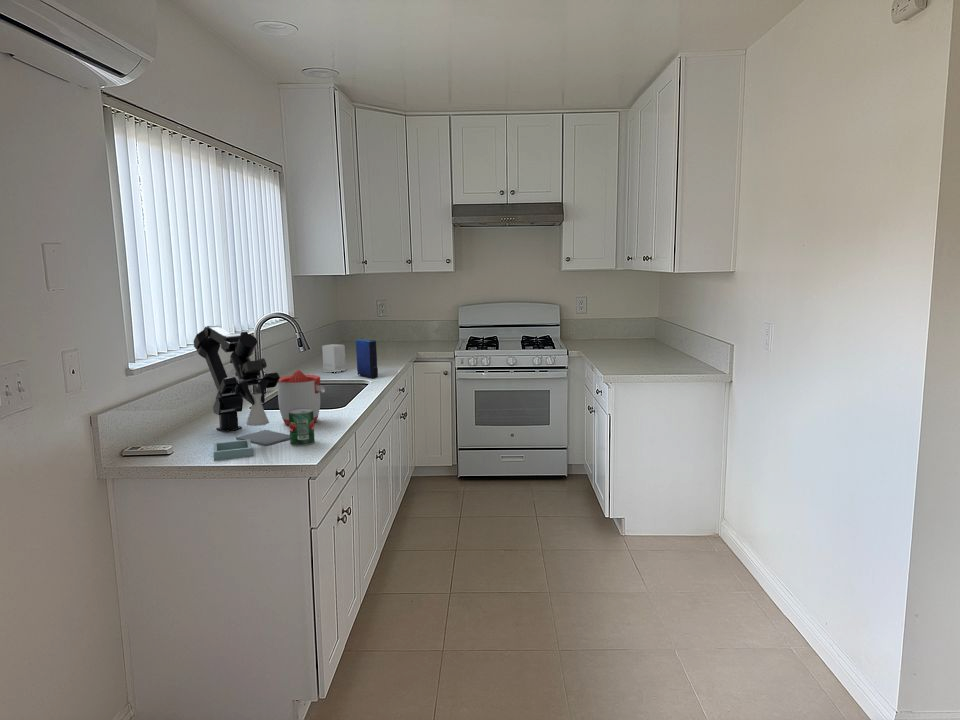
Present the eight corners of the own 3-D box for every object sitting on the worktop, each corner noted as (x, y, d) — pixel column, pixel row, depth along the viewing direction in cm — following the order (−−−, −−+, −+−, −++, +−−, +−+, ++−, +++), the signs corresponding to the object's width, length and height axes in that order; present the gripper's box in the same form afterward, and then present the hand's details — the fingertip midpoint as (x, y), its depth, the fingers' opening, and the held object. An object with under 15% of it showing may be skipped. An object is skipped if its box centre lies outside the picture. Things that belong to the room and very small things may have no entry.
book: (379, 378, 336) (378, 339, 333) (371, 379, 332) (369, 340, 329) (364, 374, 346) (363, 337, 343) (355, 376, 342) (354, 338, 339)
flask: (248, 421, 215) (246, 392, 214) (270, 420, 217) (269, 391, 215) (244, 426, 208) (243, 396, 207) (267, 426, 210) (266, 396, 208)
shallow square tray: (213, 450, 205) (213, 443, 204) (250, 446, 209) (249, 439, 208) (214, 460, 194) (213, 452, 194) (252, 455, 199) (252, 448, 198)
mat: (236, 439, 218) (235, 437, 218) (265, 431, 228) (265, 429, 228) (266, 446, 209) (266, 444, 209) (295, 437, 219) (295, 436, 219)
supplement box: (346, 371, 358) (345, 344, 356) (334, 373, 351) (333, 346, 349) (334, 370, 363) (333, 343, 361) (322, 372, 356) (321, 345, 353)
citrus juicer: (319, 428, 232) (316, 373, 230) (272, 427, 234) (269, 373, 231) (331, 417, 248) (329, 366, 245) (287, 417, 249) (285, 366, 246)
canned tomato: (285, 443, 213) (283, 410, 211) (306, 438, 218) (304, 406, 217) (298, 447, 207) (296, 414, 206) (319, 442, 213) (318, 410, 212)
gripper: (220, 353, 205) (236, 393, 199) (276, 348, 218) (292, 385, 212) (213, 374, 212) (228, 413, 206) (267, 368, 225) (282, 404, 219)
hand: (258, 403), depth 211 cm, fingers closed on flask, 3 cm apart
